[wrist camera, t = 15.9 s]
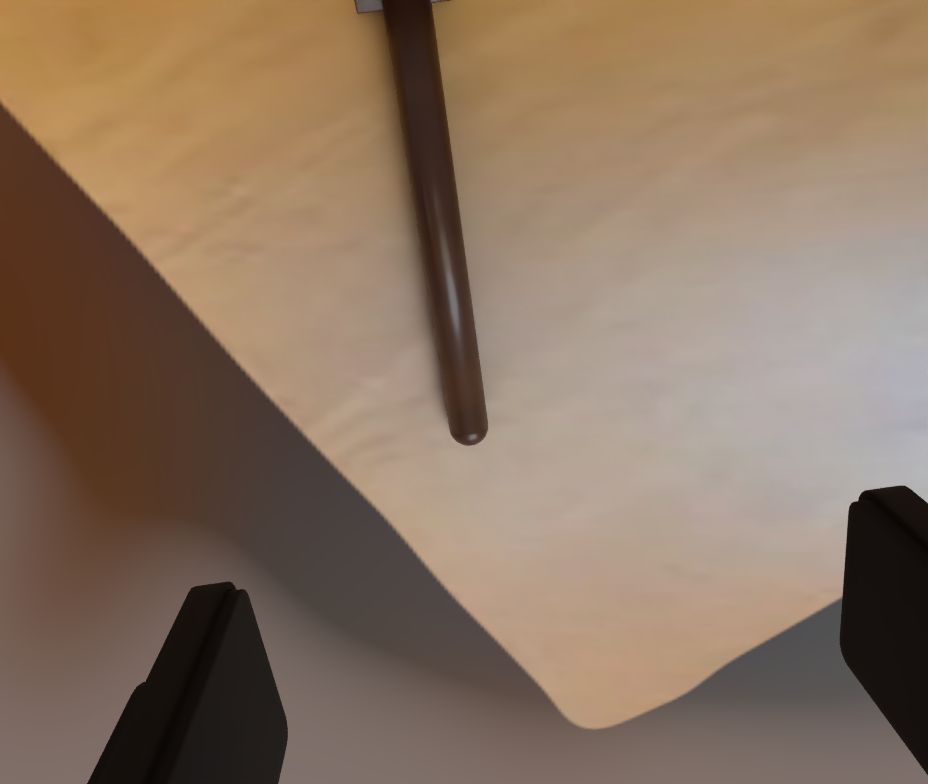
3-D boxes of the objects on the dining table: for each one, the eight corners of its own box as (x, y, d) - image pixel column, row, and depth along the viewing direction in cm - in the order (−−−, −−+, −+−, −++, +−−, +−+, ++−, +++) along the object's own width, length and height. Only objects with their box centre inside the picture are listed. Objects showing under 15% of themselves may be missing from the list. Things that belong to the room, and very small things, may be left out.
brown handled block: (324, -160, 24) (329, 17, 17) (439, -177, 24) (488, -6, 17) (412, 282, 41) (432, 458, 34) (480, 273, 41) (512, 446, 34)
